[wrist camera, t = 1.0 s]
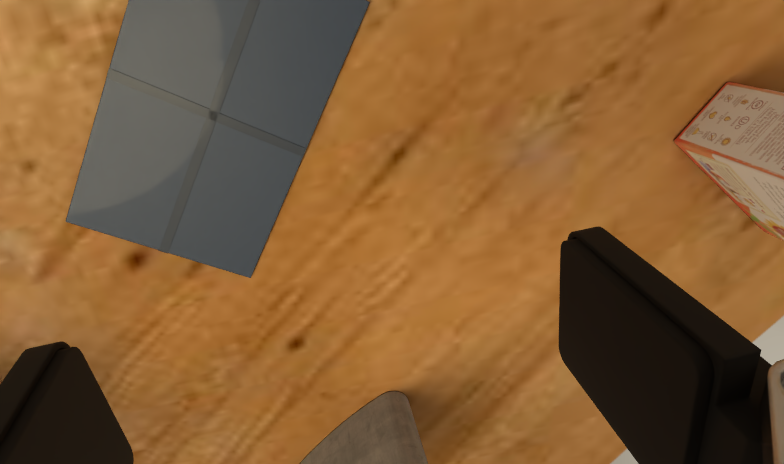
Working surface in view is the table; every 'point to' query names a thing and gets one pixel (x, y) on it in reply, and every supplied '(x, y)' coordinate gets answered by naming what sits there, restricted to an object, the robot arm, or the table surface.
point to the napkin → (209, 122)
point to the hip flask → (374, 436)
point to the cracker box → (743, 150)
